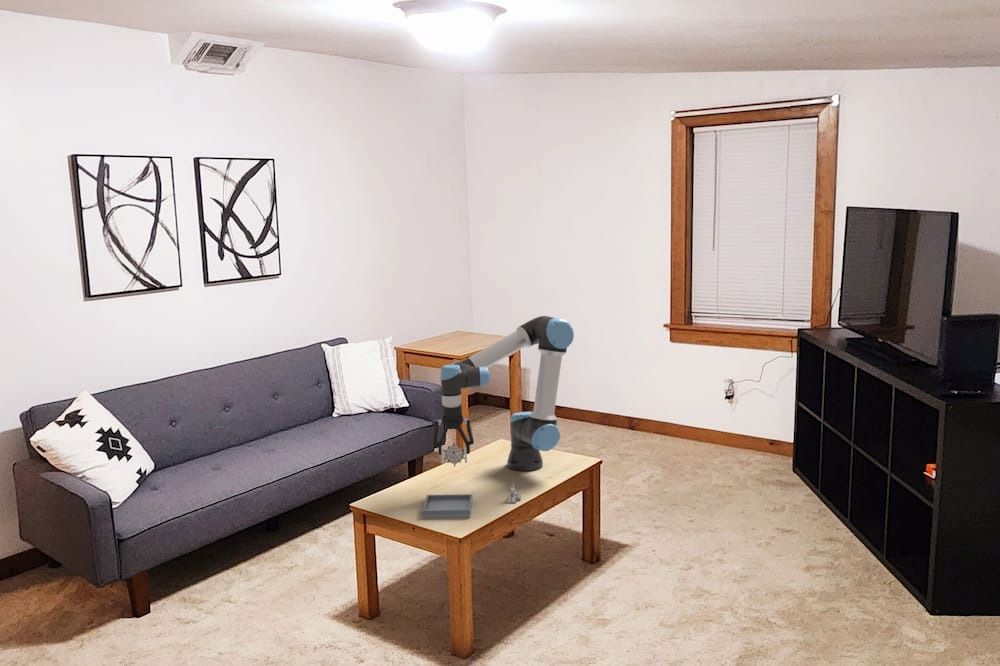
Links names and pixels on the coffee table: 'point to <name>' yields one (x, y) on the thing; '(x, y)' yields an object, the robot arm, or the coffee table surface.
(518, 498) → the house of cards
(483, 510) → the coffee table surface
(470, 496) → the square tray
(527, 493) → the coffee table surface
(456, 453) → the game die
